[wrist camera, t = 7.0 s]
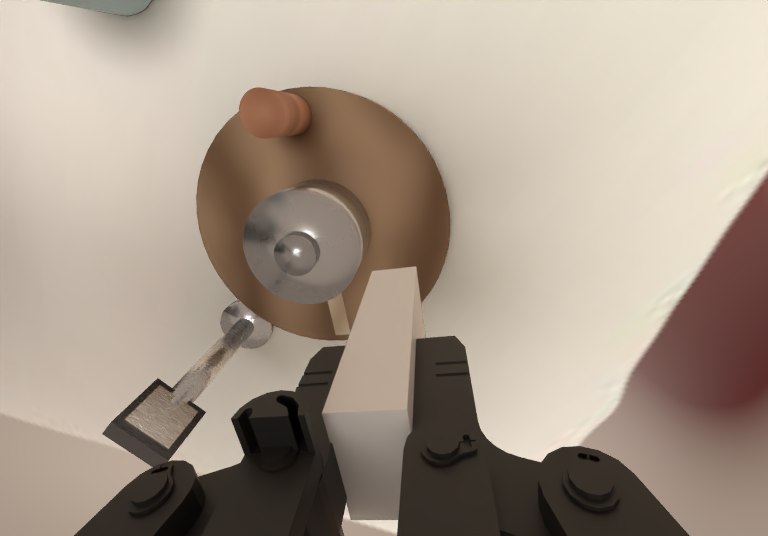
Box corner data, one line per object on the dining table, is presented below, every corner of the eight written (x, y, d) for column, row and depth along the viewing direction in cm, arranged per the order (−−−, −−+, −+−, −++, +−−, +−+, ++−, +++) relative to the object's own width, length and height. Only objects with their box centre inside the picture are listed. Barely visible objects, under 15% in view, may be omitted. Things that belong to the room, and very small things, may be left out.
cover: (286, 280, 28) (253, 315, 23) (261, 186, 25) (219, 202, 20) (378, 271, 26) (365, 307, 21) (361, 172, 24) (343, 185, 19)
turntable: (248, 337, 32) (207, 385, 26) (174, 114, 26) (99, 112, 20) (459, 320, 29) (466, 371, 23) (434, 64, 23) (435, 44, 17)
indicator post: (255, 353, 33) (152, 488, 21) (215, 323, 33) (84, 444, 20) (282, 322, 32) (188, 450, 20) (240, 290, 31) (116, 401, 19)
